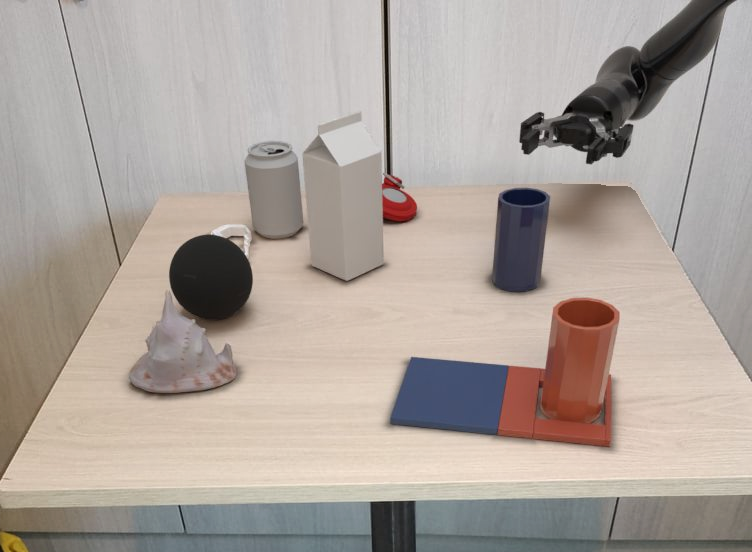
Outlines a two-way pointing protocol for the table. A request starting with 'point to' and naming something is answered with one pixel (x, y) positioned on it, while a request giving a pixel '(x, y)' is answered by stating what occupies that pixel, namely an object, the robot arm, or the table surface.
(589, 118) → the robot arm
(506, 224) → the blue cup
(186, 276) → the speaker
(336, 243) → the milk carton
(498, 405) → the sorting board
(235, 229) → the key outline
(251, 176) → the can
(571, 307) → the red cup
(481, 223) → the table surface
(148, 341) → the seashell
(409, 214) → the tracker holder
